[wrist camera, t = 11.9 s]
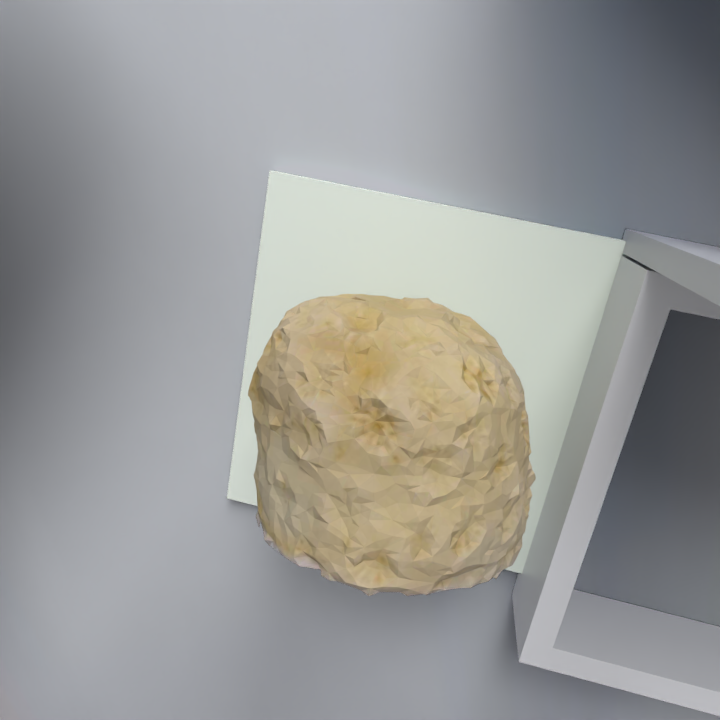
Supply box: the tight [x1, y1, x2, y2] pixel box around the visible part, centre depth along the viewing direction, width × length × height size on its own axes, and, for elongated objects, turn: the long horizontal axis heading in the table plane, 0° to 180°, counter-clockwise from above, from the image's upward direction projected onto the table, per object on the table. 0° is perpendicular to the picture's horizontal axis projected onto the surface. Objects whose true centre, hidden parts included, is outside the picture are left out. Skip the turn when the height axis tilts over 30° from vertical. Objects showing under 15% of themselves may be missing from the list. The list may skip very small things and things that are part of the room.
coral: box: [248, 294, 536, 596], centre depth 21 cm, size 10×10×10 cm
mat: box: [227, 171, 631, 574], centre depth 25 cm, size 14×14×1 cm
